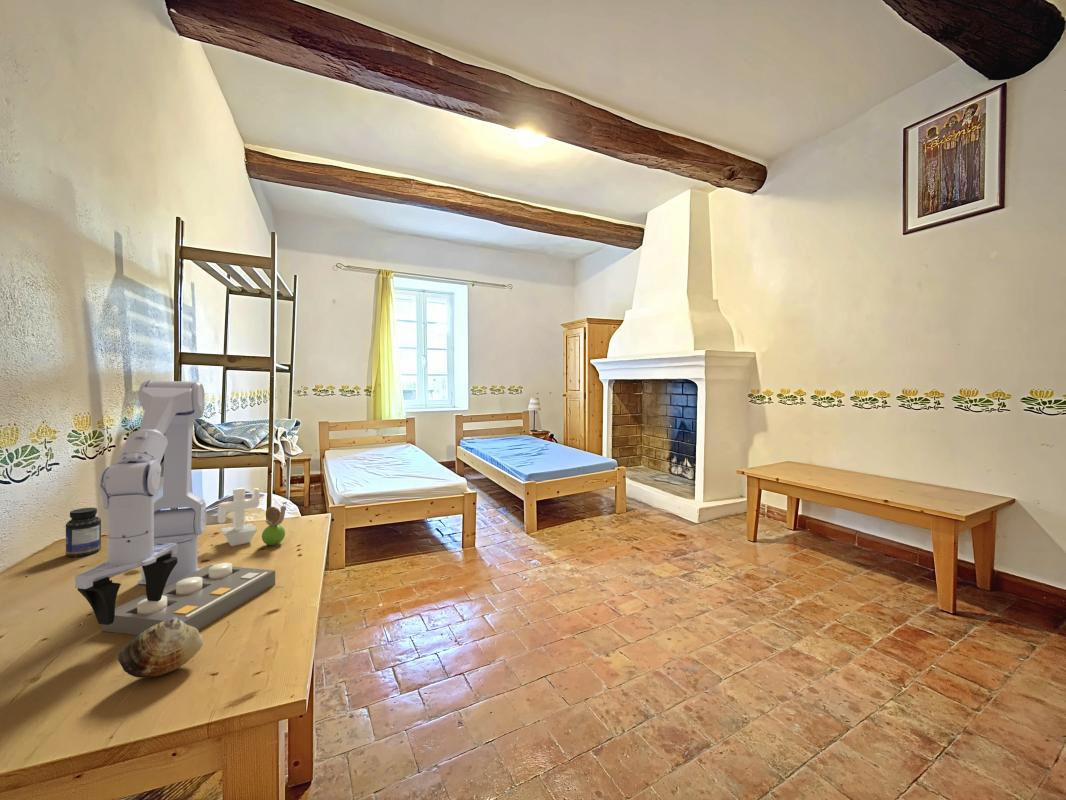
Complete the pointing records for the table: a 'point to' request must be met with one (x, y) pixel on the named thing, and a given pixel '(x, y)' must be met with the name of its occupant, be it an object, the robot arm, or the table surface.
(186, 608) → the switch console
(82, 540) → the pill bottle
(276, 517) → the snail figurine
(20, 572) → the table surface
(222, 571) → the button
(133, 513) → the robot arm
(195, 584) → the button middle
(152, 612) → the button
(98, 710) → the table surface
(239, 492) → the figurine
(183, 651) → the seashell
